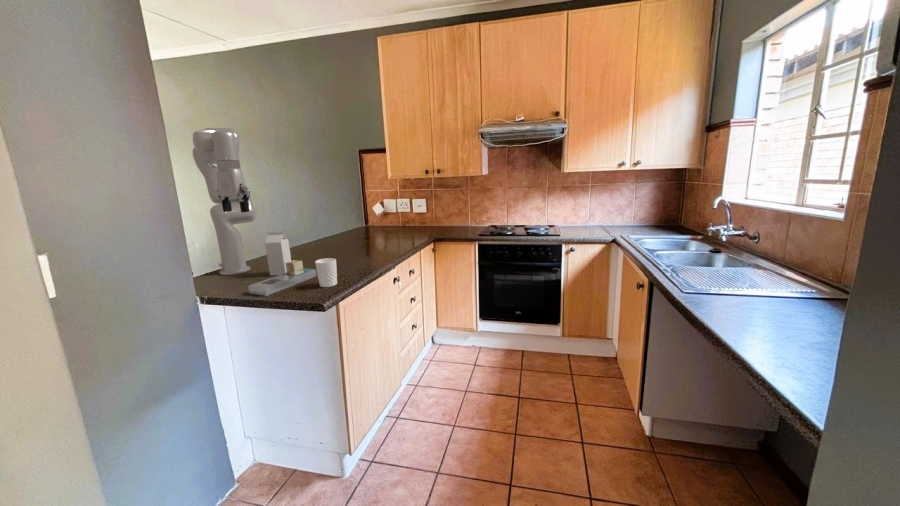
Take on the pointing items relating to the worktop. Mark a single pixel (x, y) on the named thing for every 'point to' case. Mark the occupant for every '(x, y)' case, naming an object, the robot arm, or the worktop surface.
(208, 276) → the worktop surface
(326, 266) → the white cup
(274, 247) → the milk carton
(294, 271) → the maple block
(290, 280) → the white flat bar
